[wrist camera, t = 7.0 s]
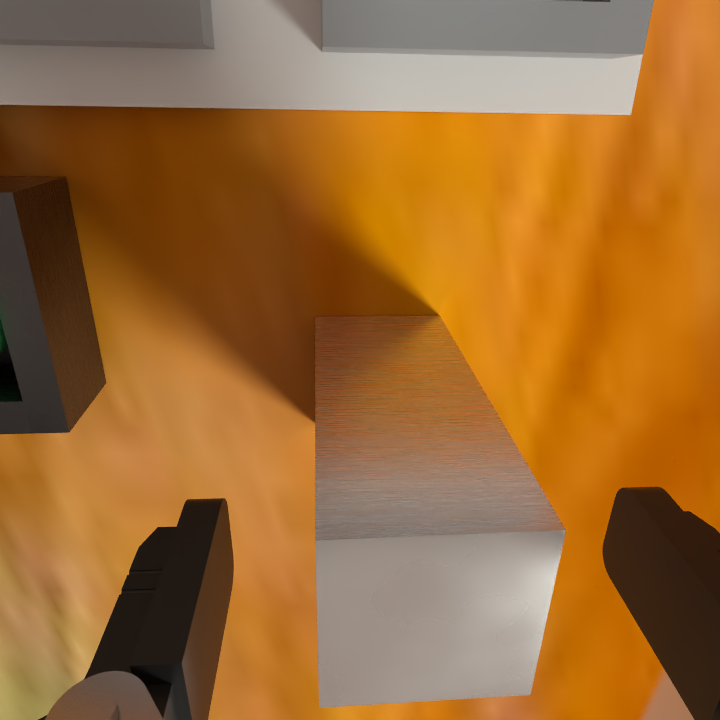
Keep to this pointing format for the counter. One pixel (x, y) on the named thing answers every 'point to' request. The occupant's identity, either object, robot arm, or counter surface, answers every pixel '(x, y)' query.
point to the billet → (421, 523)
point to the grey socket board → (326, 54)
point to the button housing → (44, 311)
